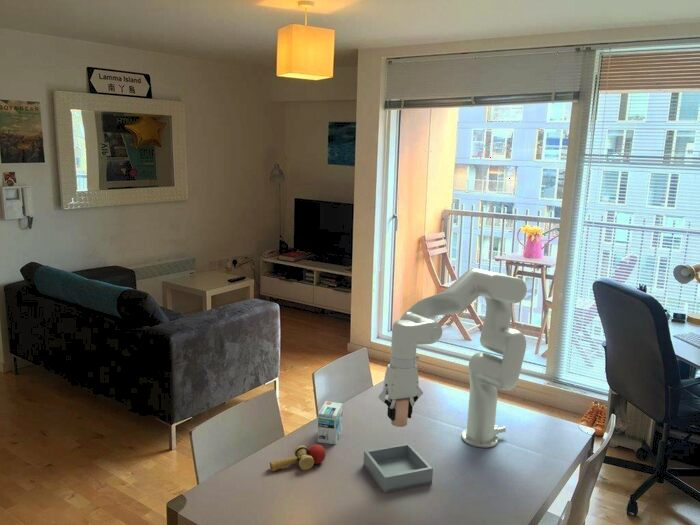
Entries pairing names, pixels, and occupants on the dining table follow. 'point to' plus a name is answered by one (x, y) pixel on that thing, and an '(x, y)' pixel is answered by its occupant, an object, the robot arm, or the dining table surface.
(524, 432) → the dining table surface
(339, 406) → the light bulb box
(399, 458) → the bin
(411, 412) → the robot arm
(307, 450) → the kendama
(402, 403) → the beige rounded capsule
